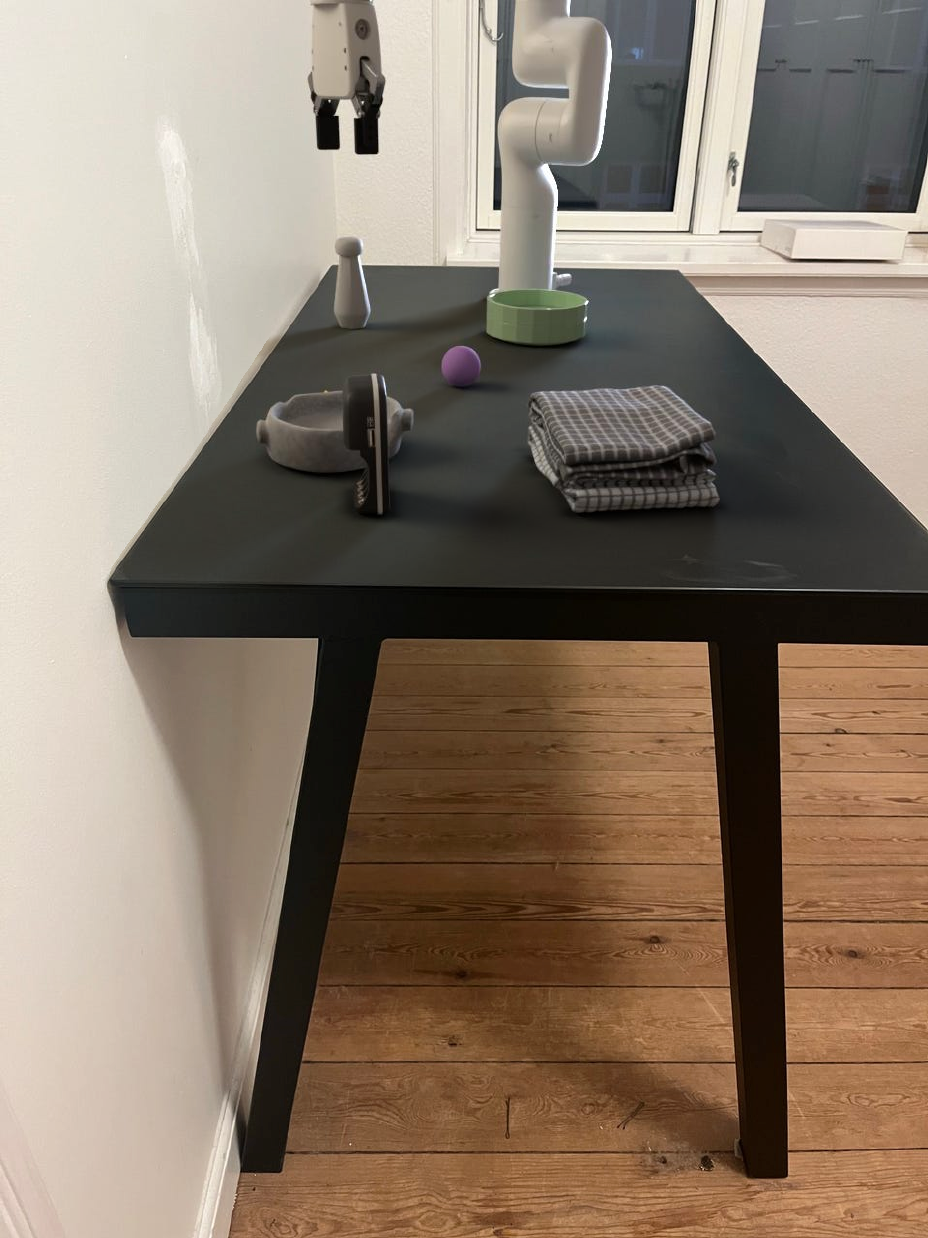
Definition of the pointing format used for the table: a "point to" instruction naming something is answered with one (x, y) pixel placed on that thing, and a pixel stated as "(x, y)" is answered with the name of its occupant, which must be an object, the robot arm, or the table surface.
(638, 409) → the towel
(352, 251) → the salt shaker
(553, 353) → the table surface
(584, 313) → the bowl
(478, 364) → the ball
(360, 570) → the table surface
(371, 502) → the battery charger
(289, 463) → the dish
